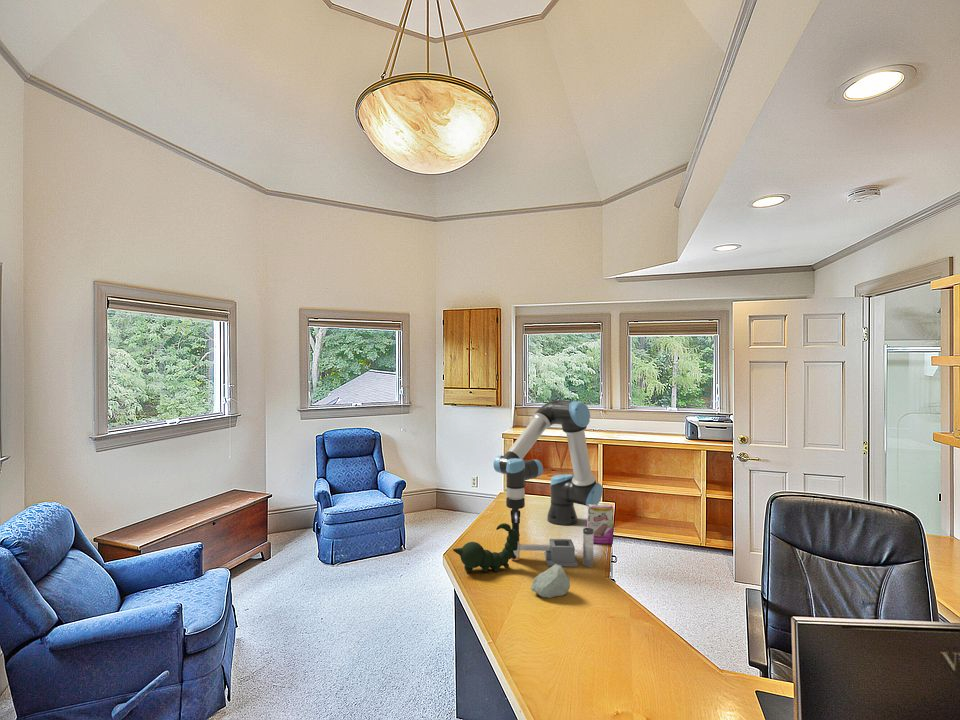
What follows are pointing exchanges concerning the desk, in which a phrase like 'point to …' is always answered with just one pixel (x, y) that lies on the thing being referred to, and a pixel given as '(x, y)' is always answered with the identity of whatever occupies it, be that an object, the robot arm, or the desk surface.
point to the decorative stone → (551, 582)
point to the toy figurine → (488, 553)
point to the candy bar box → (601, 523)
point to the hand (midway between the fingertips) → (515, 554)
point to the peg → (588, 547)
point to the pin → (533, 548)
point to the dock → (561, 553)
